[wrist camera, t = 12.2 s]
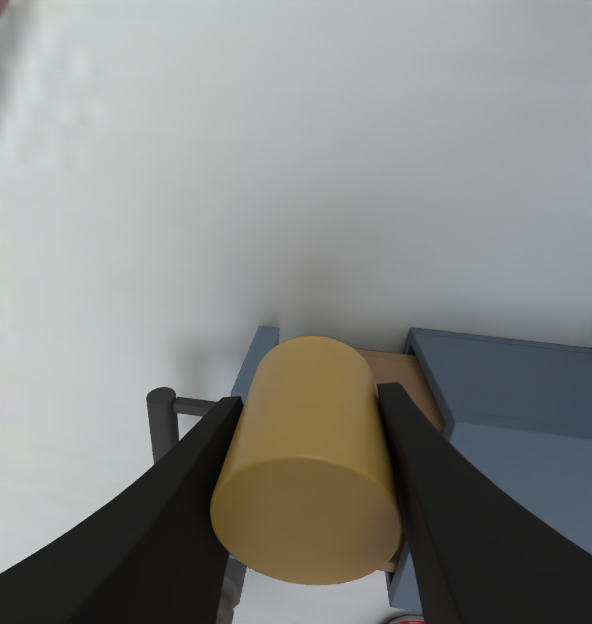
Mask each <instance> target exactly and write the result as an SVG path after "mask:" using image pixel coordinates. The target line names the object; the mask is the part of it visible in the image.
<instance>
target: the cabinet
mask: <svg viewBox="0 0 592 624" xmlns="http://www.w3.org/2000/svg"><path fill="white" fill-rule="evenodd" d="M404 354H405V355H413V356H417V359H418V361H419V363H420V366H421V368H422V370H423V372H424V375H425V377H426V379H427V382H428V384H429V386H430V388H431V391H432V393H433V395H434V398H435V400H436V402H437V405H438V407H439V409H440V411H441V414H442V416H443V418H444V421H445V422H446V425H445V428H444V431H443V434H442V435H443V436H444V437H445V438H446V439H447V440H448V441H449V442H450V443H451V444H452V445H453V446H454V447H455V448H456V449H457V450H458V451H459V452H460V453H461V454H462V455H463V456H464V457H465V458H466V459H467V460H468V461H469V462H470V463H471V464H473V465H474V466H475V467H476V468H477V469H478V470H479V471H480V472H481V473H483V474H484V475H485V476H486V477H487V478H488V479H490V480H491V481H492V482H493V483H494V484H495V485H497V486H498V487H499V488H500V489H502V490H503V491H504V492H505V493H507V494H508V495H509V496H510V497H511V498H513V499H514V500H515V501H516V502H518V503H519V504H520V505H522V506H523V507H524V508H526V509H527V510H529V511H530V512H531V513H533V514H534V515H535V516H537V517H538V518H540V519H541V520H542V521H544V522H545V523H546V524H548V525H549V526H551V527H552V528H553V529H555V530H556V531H557V532H559V533H560V534H562V535H563V536H564V537H566V538H567V539H569V540H570V541H572V542H573V543H575V544H576V545H578V546H579V547H581V548H582V549H584V550H585V551H587V552H588V553H590V554H591V555H592V348H584V347H575V346H567V345H558V344H549V343H541V342H532V341H523V340H515V339H506V338H497V337H489V336H480V335H471V334H463V333H454V332H446V331H437V330H428V329H420V328H410V332H409V336H408V340H407V344H406V348H405V352H404ZM385 575H386V583H387V590H388V596H389V604H390V607H394V608H400V609H407V610H413V611H420V612H422V608H421V602H420V597H419V592H418V586H417V581H416V576H415V571H414V566H413V562H412V558H411V553H410V549H409V545H408V542H407V539H406V542H405V545H404V548H403V551H402V554H401V557H400V560H399V562H398V565H397V568H396V571H395V573H394V572H387V571H385Z"/></svg>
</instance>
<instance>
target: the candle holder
mask: <svg viewBox="0 0 592 624" xmlns="http://www.w3.org/2000/svg"><path fill="white" fill-rule="evenodd" d="M246 568H247V566H246V565H244V564H243V563H241V562H240V561H239V560H237V559H233V558H230V553H229V557H228V562H227V566H226V570H225V575H224V581H223V586H222V592H221V597H220V603H219V608H218V614H217V620H216V624H232V620H233V614H234V611H233V608H234V607H235V606H236V605H238V604H239V602H240V597H241V592H242V587H243V583H244V578H245V573H246Z"/></svg>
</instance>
